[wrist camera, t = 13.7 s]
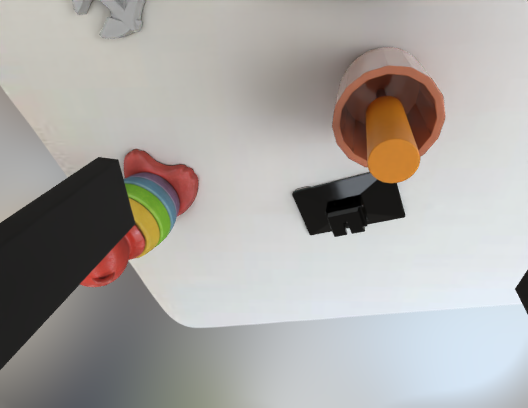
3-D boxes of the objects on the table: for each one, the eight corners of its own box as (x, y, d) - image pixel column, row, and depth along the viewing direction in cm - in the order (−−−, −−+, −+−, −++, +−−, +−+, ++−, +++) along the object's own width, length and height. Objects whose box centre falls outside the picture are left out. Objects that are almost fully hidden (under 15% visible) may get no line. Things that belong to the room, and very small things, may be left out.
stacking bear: (201, 169, 44) (122, 258, 29) (193, 225, 50) (125, 322, 35) (127, 144, 45) (16, 219, 30) (128, 202, 50) (36, 287, 36)
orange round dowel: (368, 76, 32) (373, 135, 19) (400, 79, 32) (426, 142, 19) (362, 106, 34) (363, 180, 21) (392, 109, 33) (412, 186, 20)
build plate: (310, 233, 45) (305, 255, 42) (291, 189, 42) (284, 209, 39) (405, 215, 40) (409, 239, 36) (391, 164, 37) (394, 184, 33)
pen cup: (346, 44, 32) (341, 62, 24) (436, 49, 30) (461, 70, 22) (333, 125, 36) (326, 162, 29) (411, 133, 35) (425, 175, 27)
